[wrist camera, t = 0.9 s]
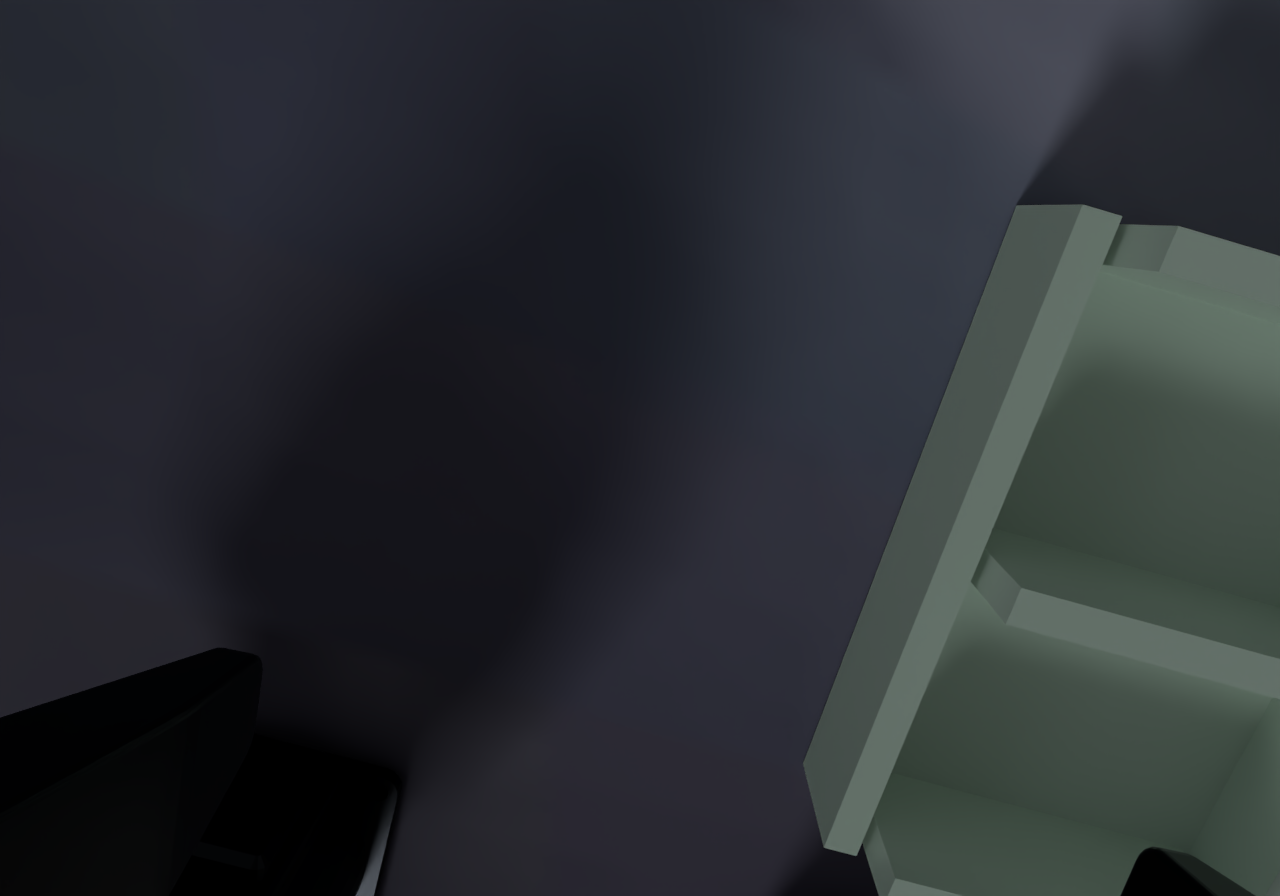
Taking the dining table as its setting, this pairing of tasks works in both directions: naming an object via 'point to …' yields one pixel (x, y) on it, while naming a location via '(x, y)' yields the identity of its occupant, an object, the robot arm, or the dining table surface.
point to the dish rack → (1078, 583)
